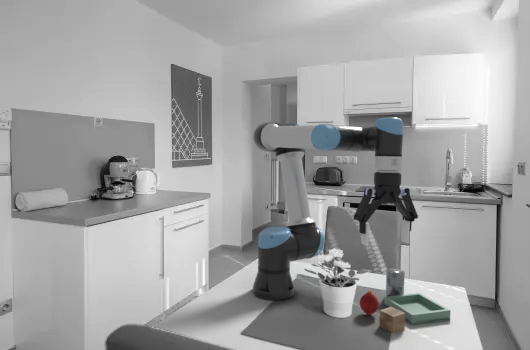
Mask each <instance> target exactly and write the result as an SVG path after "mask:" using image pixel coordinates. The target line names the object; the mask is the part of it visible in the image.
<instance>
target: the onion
mask: <svg viewBox="0 0 530 350" xmlns="http://www.w3.org/2000/svg"><path fill="white" fill-rule="evenodd" d="M379 306H380V303H379V299H378V298H377V296H376V295H375V294H374V293H373V292H372V290H371V289H369V290H368V291H367V292H365V293H364V294H362V296H361V297H360V300H359V307H360V309H361V310H362V311H363V313H365V314H366V315H367V316H372V315H373V314H375V313H376V312H377V311H378V310H379Z"/></svg>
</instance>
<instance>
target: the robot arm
mask: <svg viewBox="0 0 530 350" xmlns="http://www.w3.org/2000/svg"><path fill="white" fill-rule="evenodd" d="M252 138H253V142H254V144H255V145H256V146H257V148H258V149H260V150H261V151H264V152H270V153H273V152H274V153H275V154H274V155H275V159H276V160H277V161H279V162H280V169H281V172H282V173H281V174H282V175H281V176H282V182H283V189H284V196H285V203H286V209H287V216H288V222H287V224H286V225H285V226H281V225H280V226H271V227H267V228H264V229H263V230H261V231H260V232H259V233H258V240H257V241H258V242H257V247H258V249H257V255H258V256H257V273H256V276H255V279H254V281H253V285H252V293H253V295H254V296H256V297H257V298H259V299H263V300H267V301H268V300H269V301H280V300H287V299H290V298H292V297H293V296H294V295H295V284H294V282H293V279H292V275H291V272H290V271H291V262H296V261H300V260H301V261H302V260H305V259H306V260H307V259H312V258H315V257H318V256H319V255H320V254H319V253H318V250H320V251H321V252H322V251H323V250H324V247H325V243H326V242H325V241H326V240H325V234H324V232H323V231H322V229H321V228H320V227H318V226H317V224H316V223H317V222H316V221H315V220H314V219H312V217H311V211H310V205H309V197H308V191H307V185H306V180H305V174H304V173H305V171H304V166H303V161H302V158H303V157H304V155H305V151H306V150H320V151H324V152H325V151H327V152H330V151H334V152H335V151H341V152H342V151H343V152H355V153H357V152H359V153H360V152H374V163H373V164H374V167H373V170H375V172H374V173H373V185H374V188H368V187H365V188H364V190H363V195H362V198H361V200H360V202H359V204H358V206H357V209H356V211H355V213H354V215H353V217H352V218H353V220H355V221H358V223H359V229H358V230H359V231H358V232H359V234H361V237H360V238H361V240H360V244H361V245H363V246H365V247H368V246H369V245H370V244H369V242H370V223H369V222H368V221H369V220H370V218H371V217H372V216H373V215H374V213H375V212H376V210H377V209H378V208H379V207H380V206H381V205H386V204H390V205H391V204H393V205H394V207H396V209H397V211H398V212H399V213H400V214H401V217H402V218H403V219H401V229H400V230H401V232H400V235H401V236H400V241H401V242H402V243H405V244H410V232H412V222H414V221H415V220H417V219H418V218H419V215H418V212H417V210H416V207H415V205H414V202H413V199H412V198H411V189H410V188H408V187H401V184H402V173H401V171H402V169H403V168H402V167H403V164H402V163H403V154H402V153H403V139H404V123H403V120H402V119H401V118H398V117H382V118H377V119H376V121H375V125H373V126H352V125H338V124H330V123H320V124H316V125H314V124H313V125H305V124H304V125H300V124H296V123H292V122H291V123H284V122H274V121H267V122H263V123H260V124H259V125H257V127H256V128H255V130H254V132H253V137H252ZM400 195H401V198H402V199H401V198H400V197H399V196H400ZM372 196H373V198H372ZM403 203H404V204H403Z"/></svg>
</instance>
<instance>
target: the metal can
mask: <svg viewBox="0 0 530 350" xmlns="http://www.w3.org/2000/svg"><path fill="white" fill-rule="evenodd" d="M405 272H406V271H405V270H402V269H398V268H387V269H386V275H385V276H386V278H385V297H388V296H397V295H405V277H406V276H405Z"/></svg>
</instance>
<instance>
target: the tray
mask: <svg viewBox="0 0 530 350" xmlns="http://www.w3.org/2000/svg"><path fill="white" fill-rule="evenodd" d="M383 298H384V299H383V301H384V302H383V306H384V307H385V308H388V307H393V308H395V309H397V310H400V311H402V312H404V313H405V322H407V323H409V324H410V325H411V326H413V325H414V326H415V325H421V324H428V323H429V324H430V323H435V322H437V323H438V322H443V321H449V320H451V309H449V308H447V307H446V306H444V305H442V304H440V303H438V302H436V301H434V300H432V299H431V298H429V297H427V296H425V295H423V294H422V293H420V292H418V293H417V292H416V293H407V294H404V295H397V296H388V297H386V296H384V297H383Z"/></svg>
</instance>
